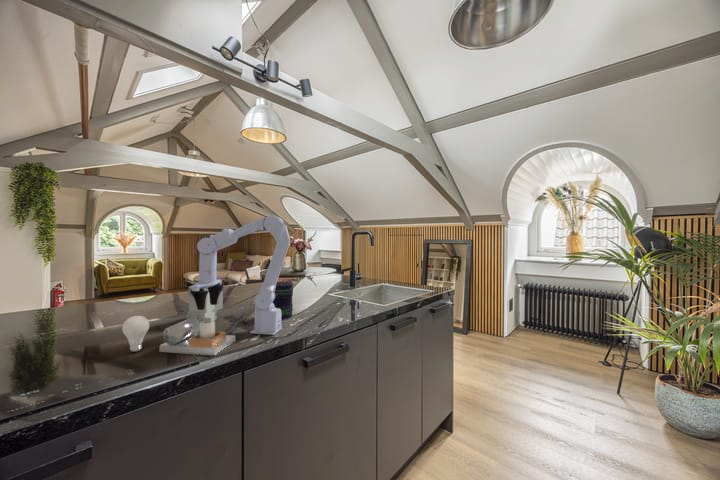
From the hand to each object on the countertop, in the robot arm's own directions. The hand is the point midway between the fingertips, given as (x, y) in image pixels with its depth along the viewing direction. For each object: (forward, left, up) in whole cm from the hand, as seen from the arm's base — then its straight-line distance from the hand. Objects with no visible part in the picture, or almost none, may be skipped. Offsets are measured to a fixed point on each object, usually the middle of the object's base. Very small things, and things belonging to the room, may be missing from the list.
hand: (207, 307), depth 108 cm
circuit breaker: (+10, -15, -10) cm, 20 cm away
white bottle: (-9, +13, -7) cm, 17 cm away
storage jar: (-19, -25, -10) cm, 33 cm away
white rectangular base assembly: (-6, +13, -9) cm, 17 cm away
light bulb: (+10, +20, -10) cm, 24 cm away
